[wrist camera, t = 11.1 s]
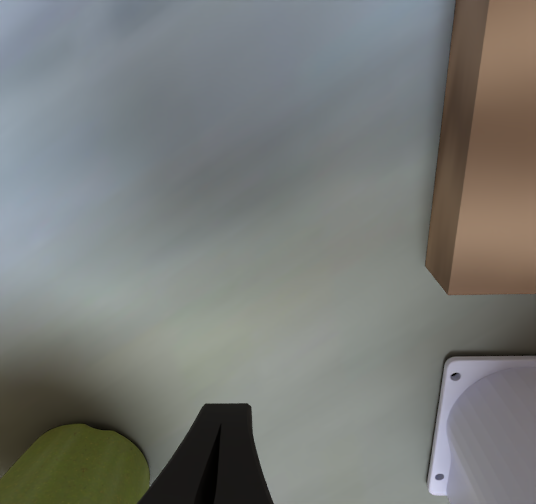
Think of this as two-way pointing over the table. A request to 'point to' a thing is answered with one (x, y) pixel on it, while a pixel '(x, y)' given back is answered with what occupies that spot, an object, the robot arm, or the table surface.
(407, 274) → the table surface
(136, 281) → the table surface
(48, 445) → the plant pot
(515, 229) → the plate
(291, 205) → the table surface
